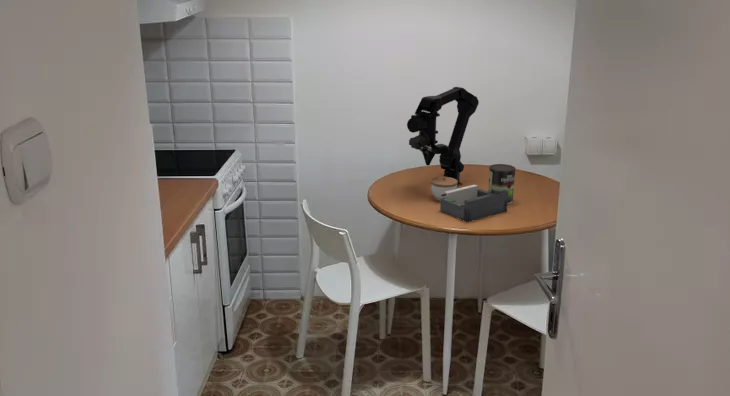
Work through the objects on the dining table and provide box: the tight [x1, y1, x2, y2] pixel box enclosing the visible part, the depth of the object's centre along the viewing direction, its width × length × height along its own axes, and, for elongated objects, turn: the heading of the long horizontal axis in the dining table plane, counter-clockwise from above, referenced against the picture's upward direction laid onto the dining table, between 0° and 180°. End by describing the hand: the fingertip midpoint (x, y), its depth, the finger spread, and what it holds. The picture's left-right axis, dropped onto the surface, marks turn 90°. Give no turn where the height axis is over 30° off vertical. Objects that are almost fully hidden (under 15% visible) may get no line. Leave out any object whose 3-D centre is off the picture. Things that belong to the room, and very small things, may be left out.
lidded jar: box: [430, 176, 458, 202], centre depth 286 cm, size 11×11×9 cm
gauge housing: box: [439, 188, 508, 223], centre depth 273 cm, size 21×15×8 cm
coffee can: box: [487, 163, 516, 206], centre depth 283 cm, size 10×10×14 cm
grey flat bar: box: [441, 184, 479, 205], centre depth 278 cm, size 18×2×6 cm, turn 125°
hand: (427, 165), depth 292 cm, fingers closed
